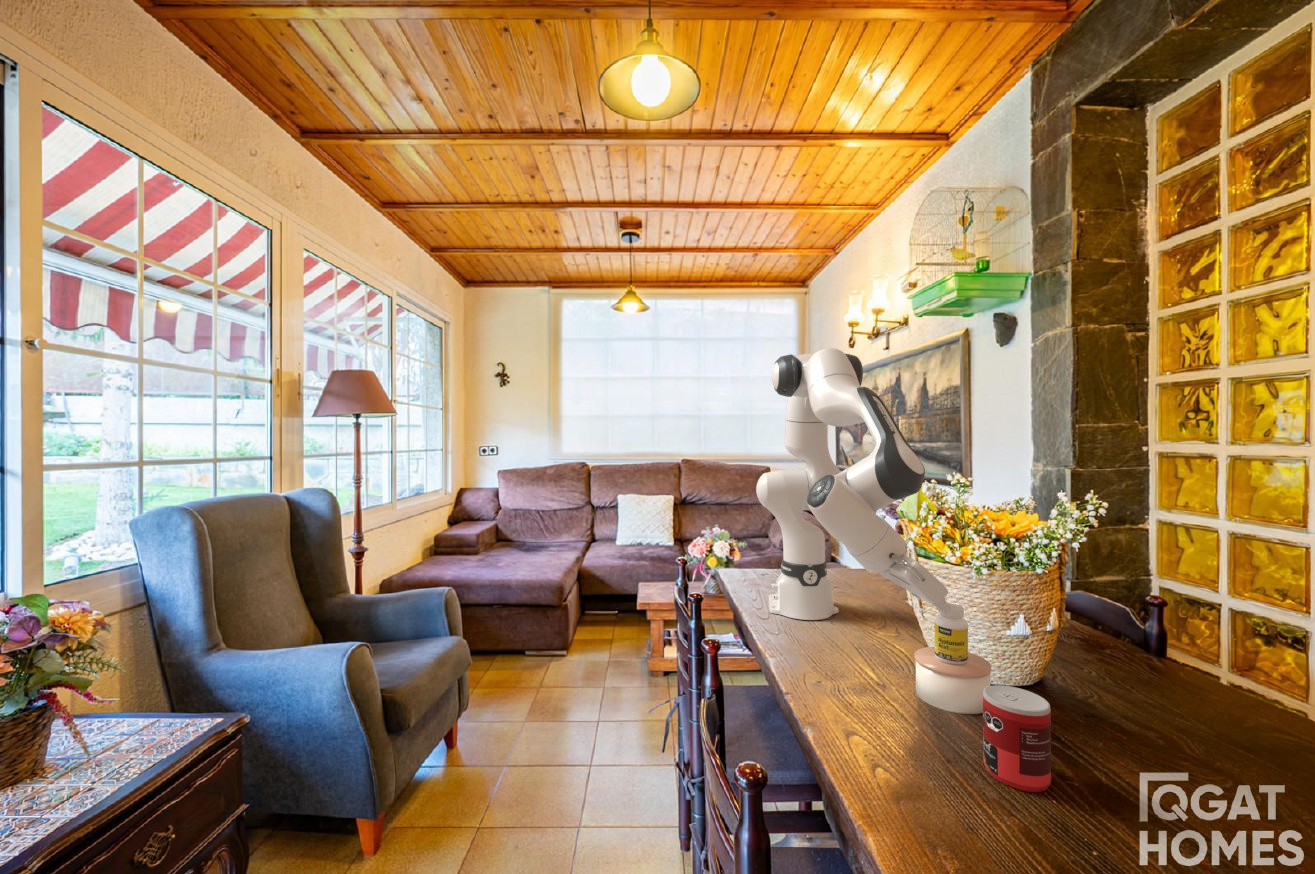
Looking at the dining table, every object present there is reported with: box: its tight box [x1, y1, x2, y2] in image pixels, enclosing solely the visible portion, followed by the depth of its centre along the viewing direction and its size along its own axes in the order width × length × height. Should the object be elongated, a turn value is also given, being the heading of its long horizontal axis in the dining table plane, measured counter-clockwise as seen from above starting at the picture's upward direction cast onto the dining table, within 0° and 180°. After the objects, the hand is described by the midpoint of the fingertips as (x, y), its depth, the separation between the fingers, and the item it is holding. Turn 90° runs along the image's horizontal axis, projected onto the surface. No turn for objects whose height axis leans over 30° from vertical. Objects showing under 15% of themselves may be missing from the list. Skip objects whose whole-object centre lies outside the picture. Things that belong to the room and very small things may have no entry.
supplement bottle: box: [934, 602, 969, 665], centre depth 99 cm, size 5×5×10 cm
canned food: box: [982, 684, 1052, 793], centre depth 76 cm, size 8×8×11 cm
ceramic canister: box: [913, 646, 992, 715], centre depth 99 cm, size 12×12×7 cm
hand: (932, 601), depth 99 cm, fingers open, 8 cm apart
